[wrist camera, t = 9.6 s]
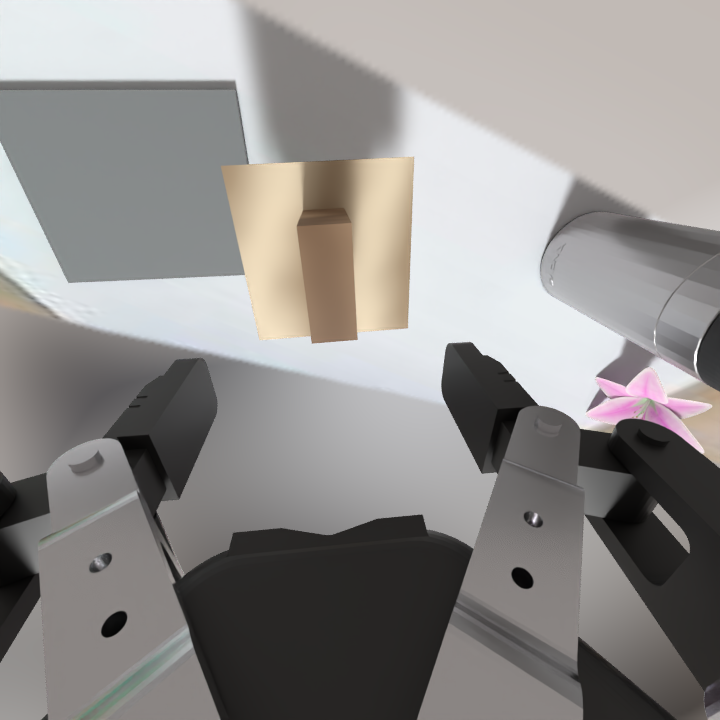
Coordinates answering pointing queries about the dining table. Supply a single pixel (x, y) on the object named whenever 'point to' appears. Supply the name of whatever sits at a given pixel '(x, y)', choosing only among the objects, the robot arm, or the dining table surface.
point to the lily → (647, 405)
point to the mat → (129, 178)
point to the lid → (324, 245)
